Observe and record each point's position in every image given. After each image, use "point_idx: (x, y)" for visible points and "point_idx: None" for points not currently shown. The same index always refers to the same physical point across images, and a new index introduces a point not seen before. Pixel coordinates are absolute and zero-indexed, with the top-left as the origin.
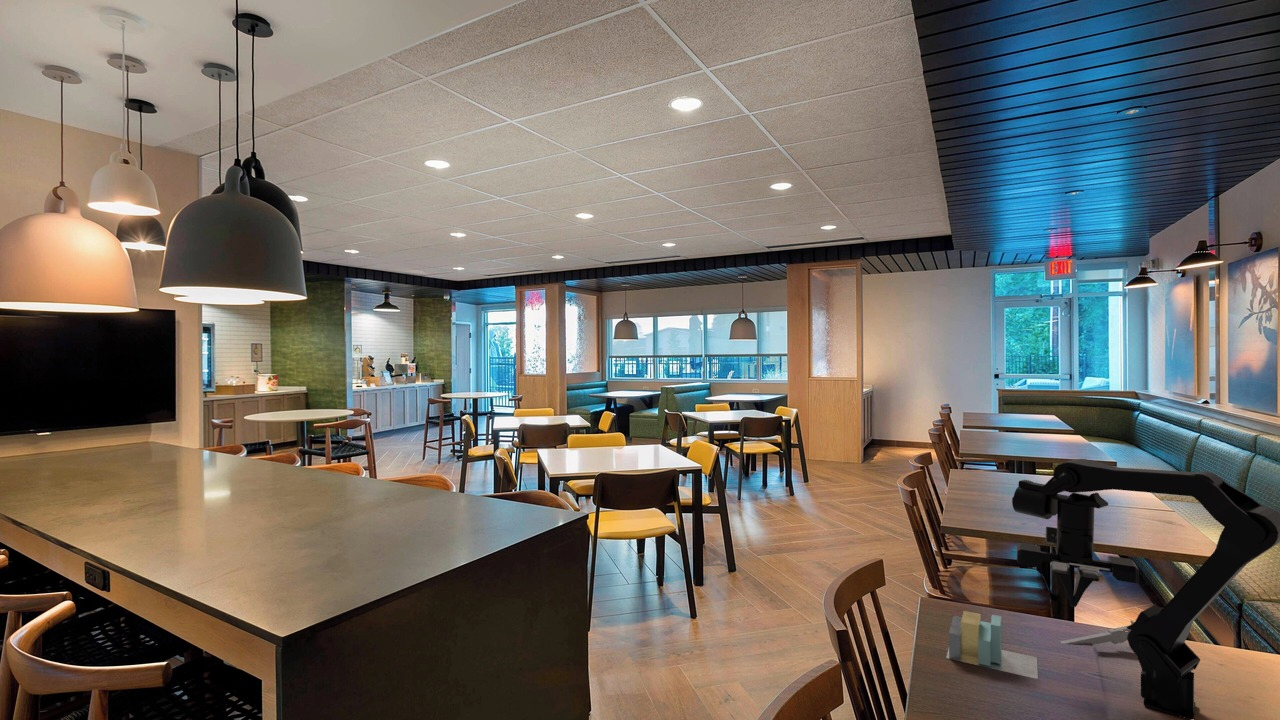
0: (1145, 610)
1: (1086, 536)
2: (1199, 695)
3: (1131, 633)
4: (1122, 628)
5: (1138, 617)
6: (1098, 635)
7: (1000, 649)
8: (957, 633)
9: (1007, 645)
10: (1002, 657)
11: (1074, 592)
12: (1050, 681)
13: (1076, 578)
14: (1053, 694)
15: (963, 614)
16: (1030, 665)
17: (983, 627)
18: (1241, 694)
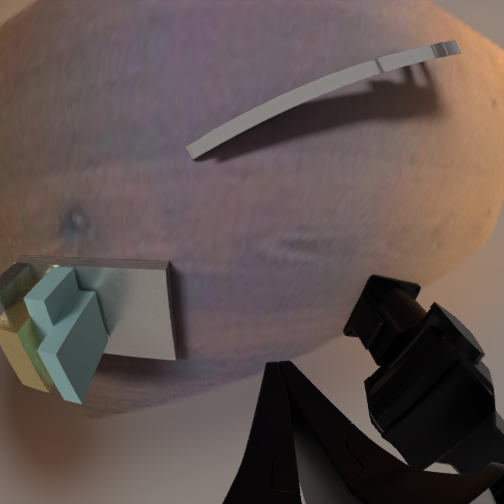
0: (437, 460)
1: None
2: (439, 242)
3: (381, 429)
4: (413, 57)
5: (408, 463)
6: (345, 79)
7: (98, 361)
8: None
9: (100, 179)
10: (102, 304)
11: (297, 430)
12: (197, 320)
13: (341, 489)
14: (203, 359)
15: (2, 347)
16: (156, 316)
17: (42, 334)
18: (484, 209)
